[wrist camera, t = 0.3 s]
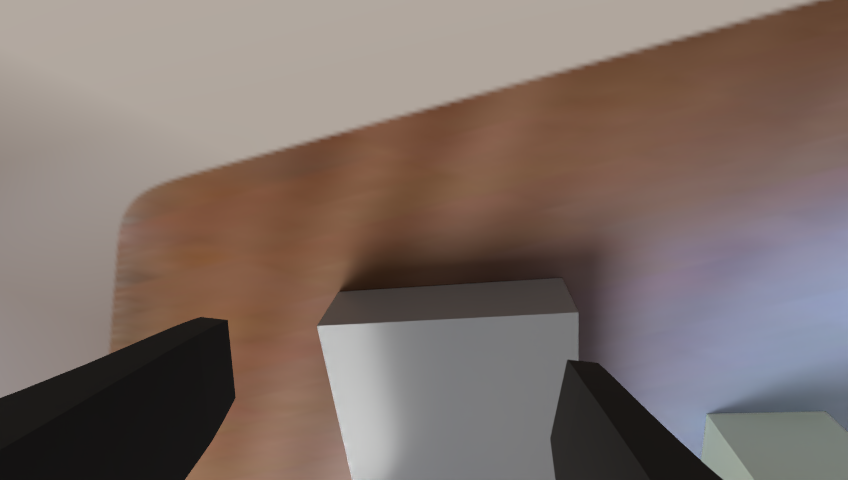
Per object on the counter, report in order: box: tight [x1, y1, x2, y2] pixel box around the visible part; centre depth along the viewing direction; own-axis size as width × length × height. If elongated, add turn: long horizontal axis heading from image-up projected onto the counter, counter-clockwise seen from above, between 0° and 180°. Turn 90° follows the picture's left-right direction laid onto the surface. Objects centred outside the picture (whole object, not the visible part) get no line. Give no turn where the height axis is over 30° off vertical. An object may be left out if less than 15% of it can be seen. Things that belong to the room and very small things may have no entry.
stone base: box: [317, 278, 579, 480], centre depth 19 cm, size 10×10×3 cm
